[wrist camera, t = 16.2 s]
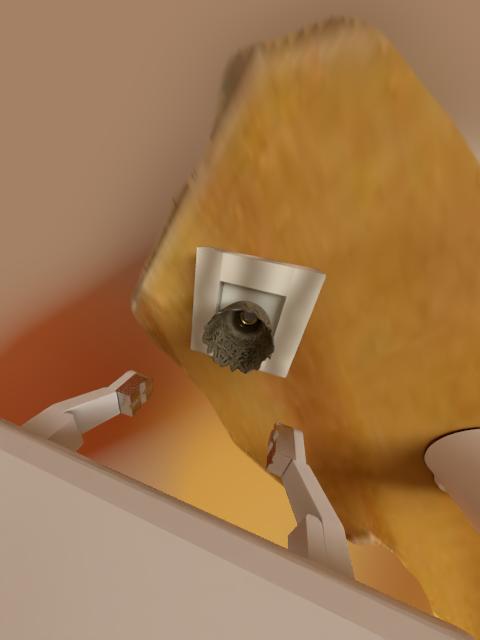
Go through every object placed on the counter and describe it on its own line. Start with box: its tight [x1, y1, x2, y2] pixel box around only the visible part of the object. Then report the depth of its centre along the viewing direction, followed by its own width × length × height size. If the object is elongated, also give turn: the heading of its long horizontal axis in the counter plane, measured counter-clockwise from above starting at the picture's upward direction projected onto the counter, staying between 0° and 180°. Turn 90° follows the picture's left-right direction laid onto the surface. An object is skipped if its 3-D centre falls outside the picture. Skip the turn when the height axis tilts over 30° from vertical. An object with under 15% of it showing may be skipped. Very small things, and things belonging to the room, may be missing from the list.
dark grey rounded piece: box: [202, 301, 274, 374], centre depth 20 cm, size 8×7×8 cm
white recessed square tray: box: [191, 247, 326, 378], centre depth 24 cm, size 15×15×5 cm
